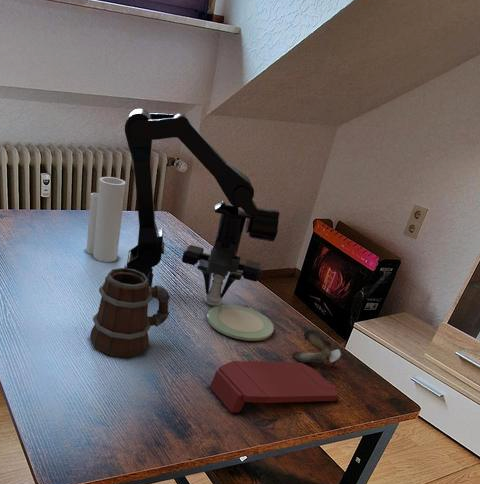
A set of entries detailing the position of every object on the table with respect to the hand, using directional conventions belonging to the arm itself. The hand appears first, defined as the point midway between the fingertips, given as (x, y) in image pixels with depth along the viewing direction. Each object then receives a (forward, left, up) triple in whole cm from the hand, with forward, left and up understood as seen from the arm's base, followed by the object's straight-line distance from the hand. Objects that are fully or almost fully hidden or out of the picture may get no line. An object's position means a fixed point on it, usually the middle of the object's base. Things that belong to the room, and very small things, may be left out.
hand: (214, 295), depth 133 cm
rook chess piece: (0, 0, -2) cm, 2 cm away
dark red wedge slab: (-10, -37, -2) cm, 38 cm away
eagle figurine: (+8, -30, -2) cm, 31 cm away
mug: (-30, -12, -2) cm, 32 cm away
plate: (0, -12, -2) cm, 12 cm away
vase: (-16, +33, -2) cm, 37 cm away
